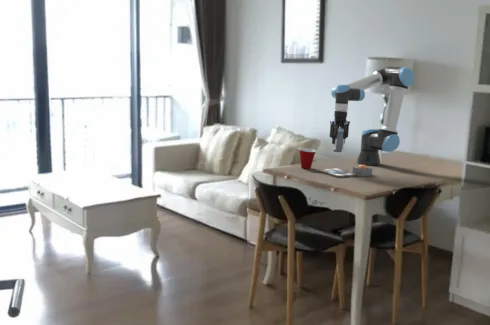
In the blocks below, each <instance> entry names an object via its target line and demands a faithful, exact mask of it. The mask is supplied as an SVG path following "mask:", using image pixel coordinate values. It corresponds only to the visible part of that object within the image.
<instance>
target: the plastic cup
mask: <svg viewBox="0 0 490 325" xmlns="http://www.w3.org/2000/svg"><path fill="white" fill-rule="evenodd" d="M298 151H299V157H300V158H299V159H300V161H299V162H300V166H301V169H303V168H304V170H311V169H312V164H313V162H314V157H315V154H316V153H317V149H316V150H315V149H313V148H307V147H298Z"/></svg>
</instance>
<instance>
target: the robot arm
mask: <svg viewBox="0 0 490 325" xmlns="http://www.w3.org/2000/svg"><path fill="white" fill-rule="evenodd" d="M414 81H415V73H414V72H413V70H412V68H409V67H405V66H387V67H384V68H381V69H378V70H376V71H374V72H372V74H370V75H368V76H365V77H362V78H360V79H357V80H355V81H352V82H350V83H347V84H341V83H340V84H337V85H336V86H334V87H333V88H332V89H331V91H330V92H331V97H332V98H333V99H335V102H334V103H335V104H334V115H333V120H331V121H329V124H330V127H329V128H330V129H329V138H331V144H332V145H331V146H332V148H331V149H332V150H336V144H337V139H336V136H337V132H338V129H339V128H342V129H344V132H343V144H342V151H343V150H344V148H345V147H344V146H345V144H346V139H347V138H349V130H350V125H351V124H350V123H351V121H349V120H347V117H348V110H349V101H350V102H361V101H363V100H364V99H365V97H366V92H365V91H367V90H368V89H371V88H373V87H380V86H383V85H384V86H385V85H389V86H388V87H389V89H390V93H389V97H388V100H387V101H388V102H387V105H386V110H385V113H384V118H383V119H384V120H383V123H382V126H381V127H380V128H369V129H368V128H367V129H366V128H365V129H363V130H362V132H361V133H362V134H361V140H360V142H361V144H360V152H359V154H358V157H357V159H356V163H357V164H359V165H366V166H380V165H381V159H380V154H379V151H383V152H385V153H387V152H388V153H392V152H395V150H397V149H398V148H399V146H400V143H401V142H400V141H401V139H400V136H399V134H398V133H399V131H398V130H397V127H398V123H399V118H400V113H401V109H402V105H403V100H404V95H405V93H406V91H408V90H409V87H411V86H412V85H413V84H414Z"/></svg>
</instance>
